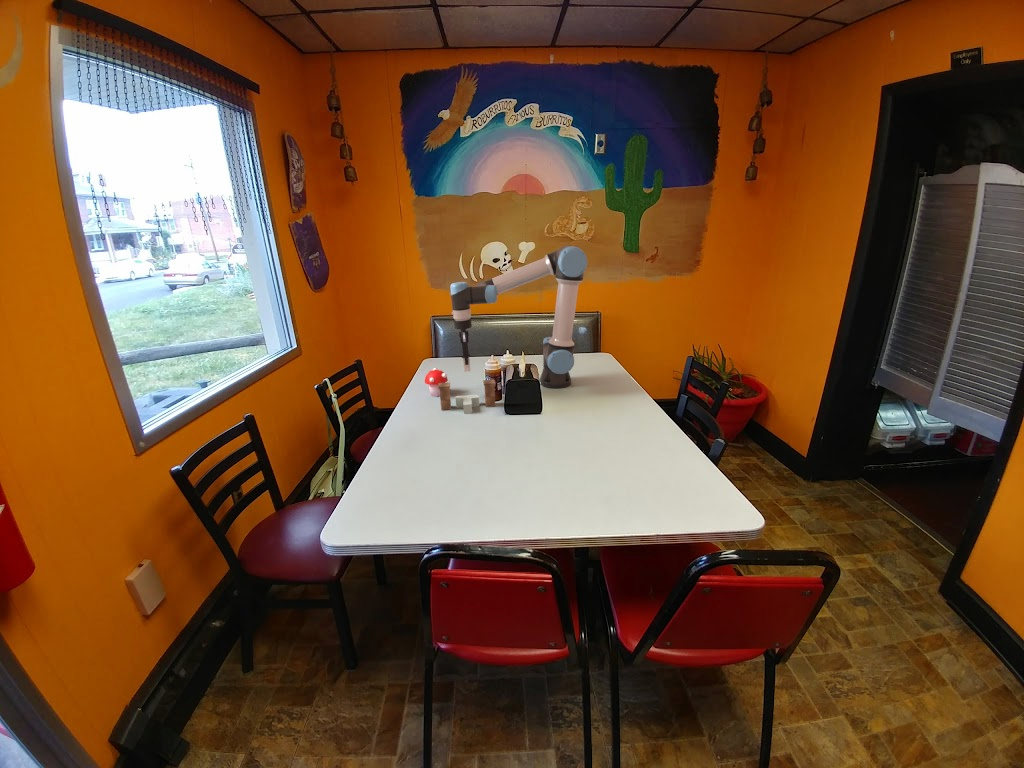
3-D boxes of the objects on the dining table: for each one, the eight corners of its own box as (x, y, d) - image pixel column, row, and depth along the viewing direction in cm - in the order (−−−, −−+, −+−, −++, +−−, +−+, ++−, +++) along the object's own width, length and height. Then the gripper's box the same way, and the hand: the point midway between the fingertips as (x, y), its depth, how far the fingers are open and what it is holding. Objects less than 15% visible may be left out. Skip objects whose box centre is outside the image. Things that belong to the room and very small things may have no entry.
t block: (479, 403, 196) (478, 394, 195) (480, 412, 186) (479, 403, 185) (456, 404, 195) (455, 396, 194) (456, 414, 185) (455, 405, 184)
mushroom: (447, 398, 203) (445, 373, 199) (423, 398, 203) (420, 373, 199) (450, 389, 213) (448, 366, 209) (428, 390, 213) (425, 366, 209)
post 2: (495, 402, 196) (494, 379, 192) (496, 406, 191) (495, 383, 188) (484, 403, 195) (483, 380, 192) (485, 407, 191) (483, 383, 187)
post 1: (451, 405, 194) (450, 382, 190) (451, 409, 189) (449, 386, 186) (440, 406, 194) (438, 383, 190) (440, 410, 189) (438, 386, 185)
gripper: (453, 316, 197) (459, 367, 205) (453, 322, 185) (459, 376, 193) (470, 315, 198) (475, 365, 206) (471, 321, 186) (476, 374, 194)
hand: (467, 370), depth 200 cm, fingers closed
